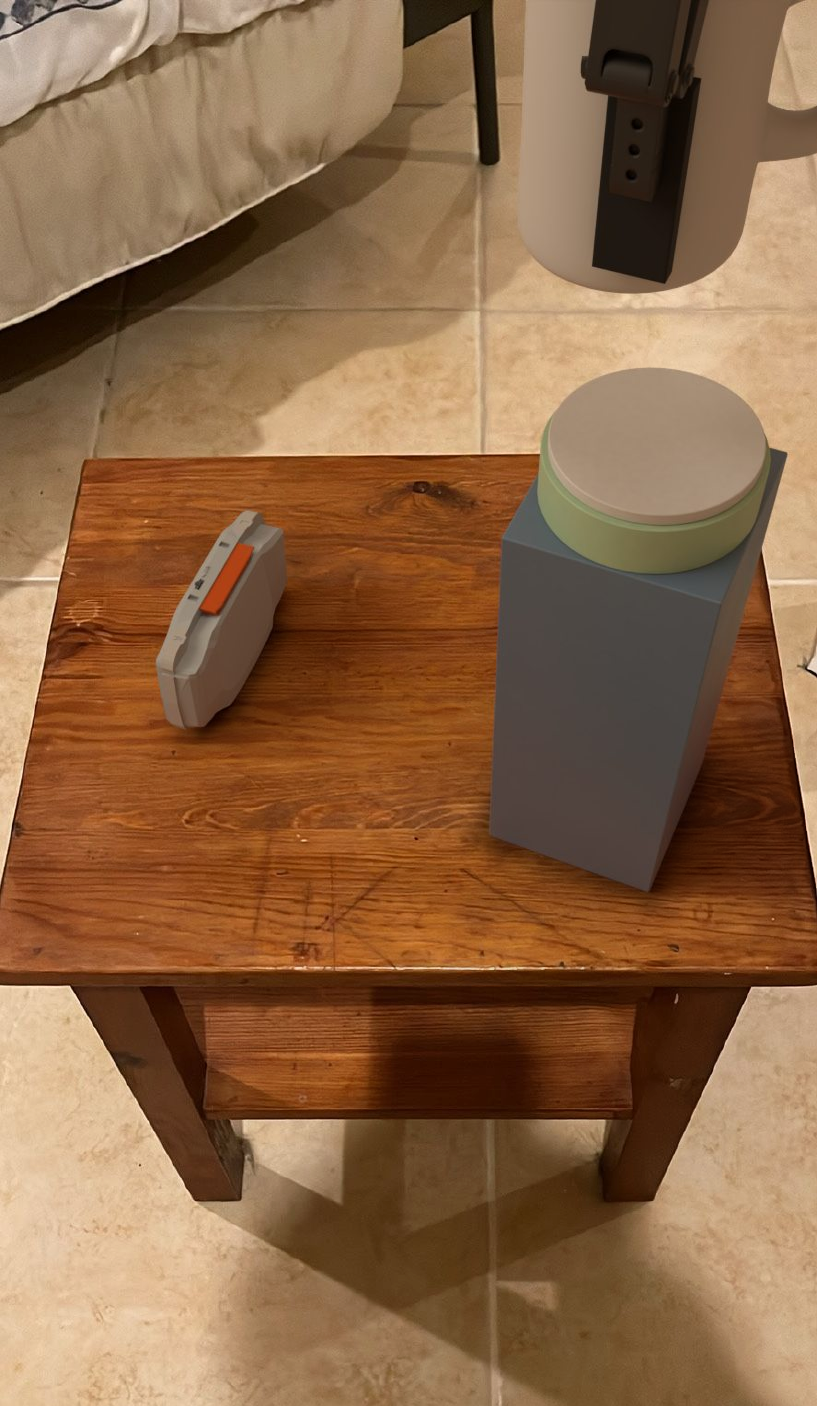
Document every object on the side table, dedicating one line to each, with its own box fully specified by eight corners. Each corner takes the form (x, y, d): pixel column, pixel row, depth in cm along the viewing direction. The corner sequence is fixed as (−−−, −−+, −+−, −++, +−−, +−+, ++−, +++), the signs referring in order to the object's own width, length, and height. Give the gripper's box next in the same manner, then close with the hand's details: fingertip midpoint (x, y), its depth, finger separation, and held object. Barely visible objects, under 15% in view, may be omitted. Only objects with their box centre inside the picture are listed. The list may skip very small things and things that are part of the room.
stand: (702, 763, 80) (788, 451, 59) (648, 893, 75) (722, 603, 55) (549, 713, 82) (581, 395, 62) (488, 835, 78) (500, 537, 57)
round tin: (785, 452, 59) (801, 395, 57) (720, 601, 55) (734, 547, 52) (582, 397, 62) (588, 340, 59) (503, 536, 57) (506, 481, 54)
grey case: (259, 579, 89) (242, 488, 82) (298, 589, 88) (285, 499, 81) (168, 741, 82) (141, 656, 75) (210, 753, 81) (188, 669, 75)
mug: (518, 299, 48) (530, -37, 38) (514, 164, 52) (525, -168, 43) (852, 292, 47) (947, -50, 38) (820, 156, 51) (898, -181, 42)
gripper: (788, -885, 34) (669, 36, 54) (471, -695, 25) (465, 346, 44) (1082, -880, 33) (849, 71, 52) (866, -673, 23) (679, 402, 42)
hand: (673, 196), depth 48 cm, fingers closed on mug, 8 cm apart
